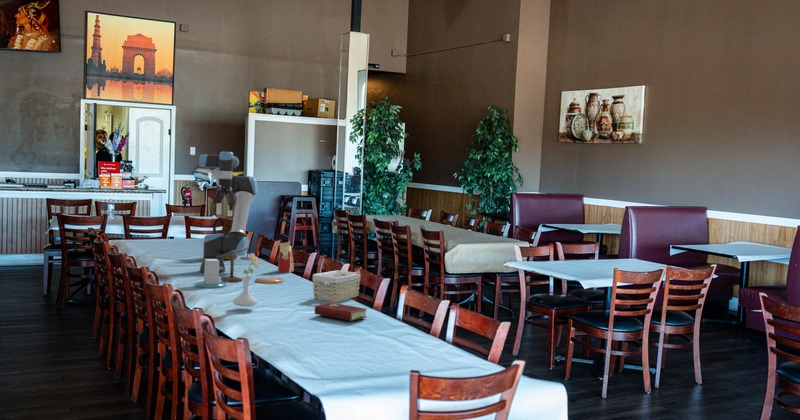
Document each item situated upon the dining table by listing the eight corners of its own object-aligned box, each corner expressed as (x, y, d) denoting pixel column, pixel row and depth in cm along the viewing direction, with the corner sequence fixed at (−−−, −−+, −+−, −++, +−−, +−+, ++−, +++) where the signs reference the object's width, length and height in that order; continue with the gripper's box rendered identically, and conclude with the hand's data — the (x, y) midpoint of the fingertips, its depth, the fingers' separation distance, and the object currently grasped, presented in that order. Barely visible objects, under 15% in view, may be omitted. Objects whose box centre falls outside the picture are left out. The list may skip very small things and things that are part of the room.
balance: (204, 280, 407) (205, 246, 406) (247, 277, 425) (248, 245, 424) (214, 283, 398) (215, 249, 397) (257, 280, 416) (259, 247, 415)
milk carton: (293, 272, 456) (295, 240, 454) (290, 274, 446) (291, 242, 445) (279, 271, 456) (280, 240, 455) (275, 273, 447) (277, 241, 446)
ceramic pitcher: (233, 262, 487) (235, 218, 485) (204, 261, 487) (205, 217, 485) (240, 259, 506) (242, 216, 505) (212, 257, 506) (213, 215, 505)
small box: (218, 284, 388) (219, 260, 387) (207, 284, 385) (207, 260, 384) (215, 282, 395) (216, 258, 394) (203, 282, 392) (204, 258, 391)
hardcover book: (351, 320, 320) (351, 311, 319) (314, 314, 331) (314, 304, 330) (366, 317, 330) (367, 308, 329) (330, 310, 341) (330, 301, 341)
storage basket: (336, 306, 362) (337, 277, 361) (309, 302, 369) (311, 273, 368) (360, 300, 383) (362, 272, 382) (335, 296, 390) (336, 269, 390)
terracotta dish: (250, 280, 415) (250, 278, 415) (274, 278, 426) (274, 276, 426) (264, 284, 403) (264, 282, 403) (289, 282, 414) (289, 280, 414)
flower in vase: (245, 309, 332) (247, 255, 330) (227, 305, 338) (229, 252, 336) (264, 305, 343) (266, 253, 341) (247, 302, 349) (249, 250, 347)
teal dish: (190, 284, 390) (190, 282, 390) (217, 282, 401) (218, 280, 401) (204, 289, 378) (204, 286, 378) (231, 287, 389) (231, 284, 389)
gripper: (209, 177, 421) (208, 213, 422) (229, 179, 402) (228, 217, 403) (221, 177, 425) (220, 213, 427) (242, 179, 407) (240, 216, 408)
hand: (224, 215), depth 415 cm, fingers open, 13 cm apart
